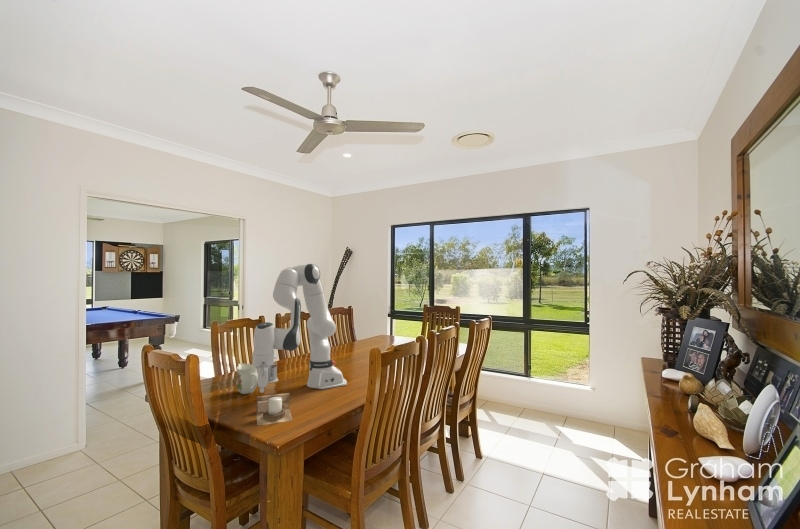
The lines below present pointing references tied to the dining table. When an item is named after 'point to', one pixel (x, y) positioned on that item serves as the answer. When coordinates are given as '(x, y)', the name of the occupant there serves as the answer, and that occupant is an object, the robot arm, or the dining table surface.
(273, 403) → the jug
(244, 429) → the dining table surface
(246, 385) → the pitcher
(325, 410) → the dining table surface
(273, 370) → the french press
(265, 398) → the stand
